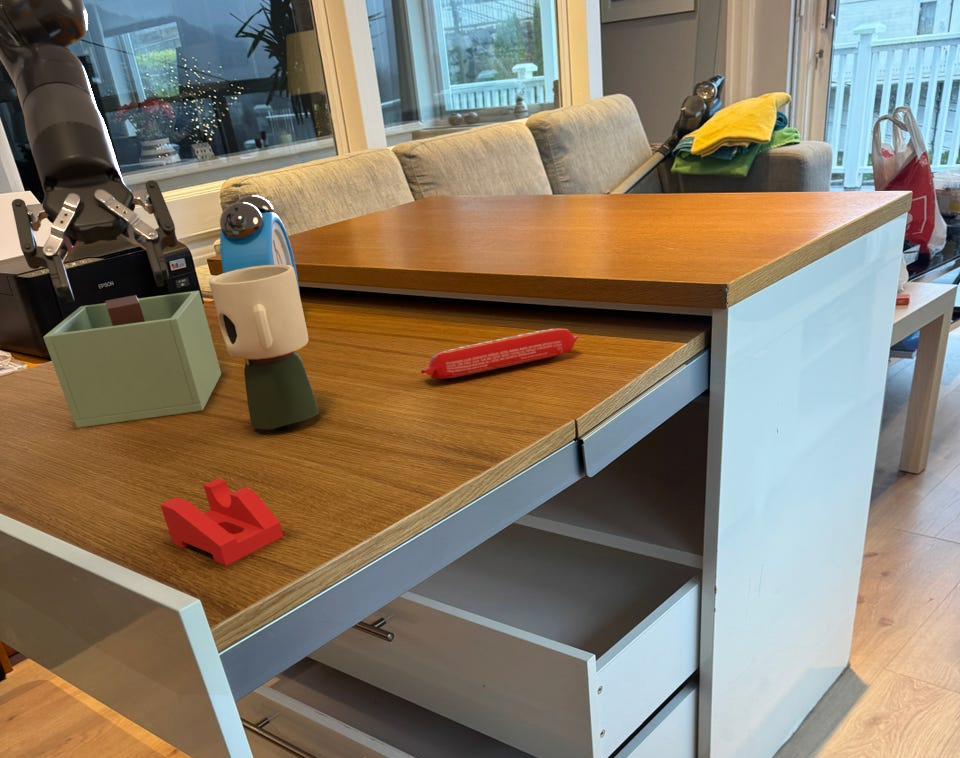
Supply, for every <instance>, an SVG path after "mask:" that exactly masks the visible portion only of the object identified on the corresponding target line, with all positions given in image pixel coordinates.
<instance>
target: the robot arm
mask: <svg viewBox="0 0 960 758" xmlns="http://www.w3.org/2000/svg"><path fill="white" fill-rule="evenodd" d="M88 21H89V20H88V13H87V9H86V6H85V3H84V1H83V0H0V61H1V63H2V65H3V66H4V68H5V70H6V72H7V73H8V75H9V77H10V79H11V80H12V83H13V85H14V87H15V89H16V90H15V91H16V93H17V97H18V100H19V105H20V107H21V111H22V114H23V117H24V118H23V119H24V125H25V132H26V136H27V140H28V143H29V147H30V152H31V155H32V157H33V160H34V163H35V167H36V169H37V173H38V177H39V180H40V183H41V187H42V190H43V193H44V197H43V200H42V203H34V204H26V202H25V201H24V200H23V198H15V199H13V200H12V201H11V207H12V213H13V217H14V222H15V227H16V230H17V236H18V241H19V245H20V249H21V252H22V254H23V256H24V258H25V261H26V264H27V266H28V267H29V269H33V270H37V269H39V268H41V267H42V268H46V269H47V270H48V272H49V276H50V280H51V282H52V286H53V288H54V291H55V294H56V295H57V296H58V297H59V298H65V300H66V302H67V303H71V302H75V297H74V294H73V290H72V287H71V284H70V280H69V277H68V274H67V270H66V267H65V264H66V262H67V260H68V259H69V257H70V256H71V257H72V256H73V254H74V252H75V251H76V249H77V247H78V246H79V244H80V242H81V243H84V245H91V244H95V243H97V242H100V241H107V242H108V241H109V242H110V241H118V237H119V236H120V237H121V238H123V239H124V240H126V241H127V242H128V243H130V244H131V245H133V246H138V247H140V248H141V249H143V250H144V251H146V253H147V258H148V261H149V264H150V267H151V270H152V271H151V272H152V274H153V277H154V281H155V283H156V286H157V287H158V288H160V287H165V286H166V285H165V280H169V276H170V273H169V268H168V264H167V261H166V258H165V254H164V249H166V248H174V247H176V246H178V238H177V236H176V235H177V233H176V226H175V223H174V220H173V218H172V215H171V213H170V209H169V208H168V206H167V203H166V201H165V198H164V195H163V193H162V191H161V188H160V185H159V183H158V181H156V180H151V179H150V180H147V181H146V182H145V188H140V189H136V190H134V189H133V190H131V189H130V188H128V186H127V185H126V184H125V183H124V180H123V176H122V173H121V171H120V167H119V164H118V161H117V157H116V154H115V151H114V148H113V143H112V140H111V139H110V135H109V132H108V129H107V126H106V124H105V120H104V118H103V117H102V115H101V112H100V111H99V109H98V106H97V103H96V100H95V97H94V93H93V91H92V88H91V84H90V80H89V78H88V75H87V72H86V69H85V67H84V65H83V63H82V62H81V60H80V59H79V57H78V56H77V55H76V54H75V53H74V52H73V51H72V50H70V49H69V48H68V47H70V46H72V45H75V44H76V43H78V42H79V41H81V40H82V39H83V38H84V37H85V36H86V34H87V32H88V24H89V23H88ZM136 206H141V207H142V208H143V210H144V211H145V212H146V213H148V214H149V215H152V214H153V217H154V219H155V221H156V224H157V226H158V227H157V228H153V227H152V226H150V225H149V224H147V223H146V222H144V221H143V220H142V219H141V217H140V216H139V215H138V213H136V212H135V209H136ZM45 219H46V220H48V222H50V223H51V224H52V225H51V227H50V234H49V236H48V238H47V240H46V241H45V243H44V245H43V246H39V245H38V241H37V236H36V232H38V231H39V230H40V228H41V226H42V221H43V220H45Z"/></svg>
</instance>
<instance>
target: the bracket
mask: <svg viewBox="0 0 960 758" xmlns="http://www.w3.org/2000/svg"><path fill="white" fill-rule="evenodd" d="M203 489H204V492H205V496H206V499H207V502H208V504H209V508H210V510H208V511H206V512H203V511H202V510H200V509H199V508H197V506H195V505H194V504H193V503H191V502H190V501H188V500H185V499H182V498H179V497H176V496H175V497H173V498H171V499H169V500H167V501H164V502H162V503H160V504H159V505H160V508H161V511H162V514H163V517H164V520H165V523H166V526H167V530H168V532H169V535H170V539H171V542H172V544H173V545H176V546H178V547H181V548H183V549H184V548H187V547H189V546H193V547H195V548H197V549H199V550H202V551H204V552H207V553H209V554H211V555H212V558H213V561H214V562H216V563H218V564H220V565H223V566H225V567H227V566H229V565H231V564H233V563H234V562H237V561H238V560H241V559H242V558H244V557H246V556H248V555H250V554H252V553H254V552H256V551H258V550H260V549H262V548H265V547H266V546H268V545H269V544H272V543H274V542H276V541H277V540H279V539H281V538H284V534H283V530H282V525H281V522H280V520H279V519H278V518H277V517H276V516H275V514H273V512H272V511H271V510H270V509H269V507H268V506H267V505H266V504H265V503H264V501H263V500H262V499H261V498H260V496H259V495H258V494H257V493H256V491H255V490H254V489H252V488H249V487H243V488H240V489H238V490H236V491H234V492H231V490H230V488H229V485H228V484H227V480H224V479H220V478H217V479H214V480H212V481H209V482H208V483H205V484H203Z"/></svg>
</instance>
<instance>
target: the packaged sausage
mask: <svg viewBox="0 0 960 758" xmlns="http://www.w3.org/2000/svg"><path fill="white" fill-rule="evenodd" d="M580 336H581V334H577V335H575V336H574V335H573V333H572V331H570V330H569V329H568V328H549V329H542V330H537V331H531V332H528V333H523V334H518V335H511V336H508V337H503V338H498V339H494V340H487V341H483V342H479V343H474V344H468V345H464V346H459V347H455V348H451V349H447V350H443V351H441V352H437V353H436V354H433V356H431V357H430V360H429V362H428V366H427V368H424V369H422V370H421V371H420V373H421V374H426V375H428V376H430V378H432V379H436V380H443V379H453V378H458V377H464V376H469V375H474V374H478V373H483V372H488V371H493V370H497V369H502V368H507V367H511V366H512V367H513V366H517V365H520V364H526V363H530V362H534V361H540V360H544V359H548V358H552V357H557V356H561V355H563V354H567V353H569V352H570V351H572V350H573V349H574V346H575V343H576V342H577V339H579V337H580Z"/></svg>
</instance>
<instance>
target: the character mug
mask: <svg viewBox="0 0 960 758" xmlns="http://www.w3.org/2000/svg"><path fill="white" fill-rule="evenodd" d="M208 283H209V287H210V292H211V295H212V299H213V302H214V306H215V307H214V308H215V310H216V314H217V318H218V323H219V324H218V325H219V328H220V333H221V336H222V339H223V341H224V345H225V349H226V351H227V353H228V355H229V356H230V357H232V358H236V359H242V360H244V363H245V364H244V369H243V374H244V382H245V391H246V400H247V408H248V414H249V419H250V425H251V427H252V428H255V429H257V430H275V429H277V428H278V429H279V428H281V427H283V428H284V429H289V428H290V427H291V425H292V424H296V423H300V422H304V421H306V420H309V419H312V418H315V417H316V416H317V415H318V414H320V411H319V410H320V409H319V406H318V404H317V399H316V397H315V394H314V390H313V387H312V385H311V382H310V379H309V376H308V374H307V371H306V368H305V365H304V361H303V359H302V358H301V357H300V356H299V354H298V353H297V352H296V351H299V350H300V349H302V348H304V347H305V346H307V345H308V342H309V341H310V340H309V332H308V327H307V323H306V319H305V314H304V309H303V305H302V300H301V299H302V298H301V294H300V288H299V289H298V285H299V284H298V285H297V280H296V275H295V271H294V268H293V267H292V266H290V265H263V266H254V267H248V268H244V269H238V270H234V271H230V272H227V273H223V272H222V273H221V274H218V275H215V276H213V277H211V278H209V280H208Z"/></svg>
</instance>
